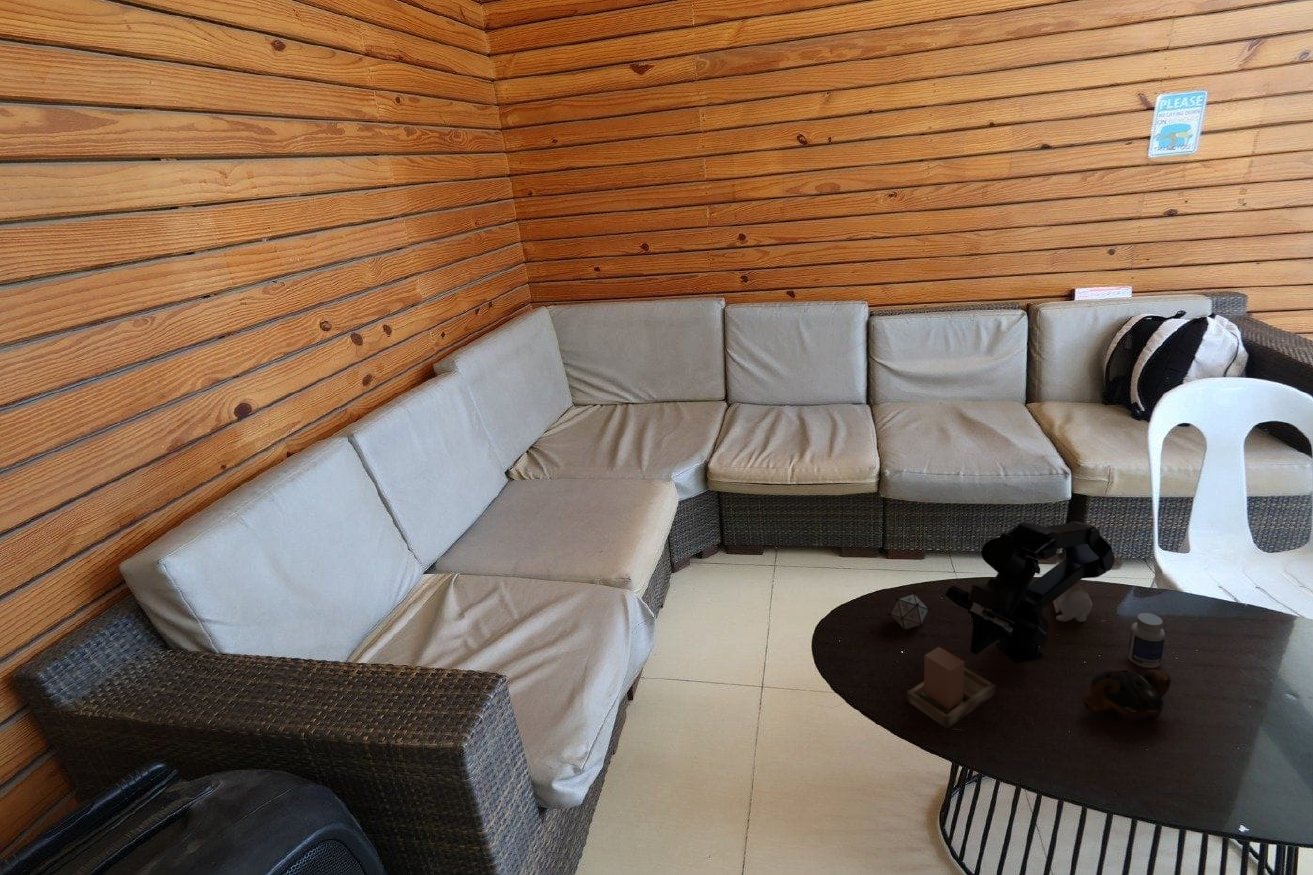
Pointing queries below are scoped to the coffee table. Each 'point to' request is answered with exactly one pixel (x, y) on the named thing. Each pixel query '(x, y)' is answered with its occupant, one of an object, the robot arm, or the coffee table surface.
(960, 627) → the coffee table surface
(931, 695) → the terracotta block
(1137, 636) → the pill bottle
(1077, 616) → the white bear figurine
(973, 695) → the box
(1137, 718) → the decorative turtle
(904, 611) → the game die
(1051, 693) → the coffee table surface
